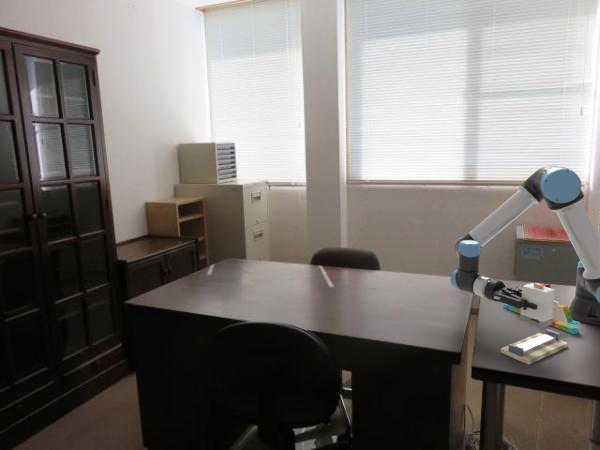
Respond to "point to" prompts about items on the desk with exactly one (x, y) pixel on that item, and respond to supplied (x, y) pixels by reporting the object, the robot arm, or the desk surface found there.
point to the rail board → (536, 350)
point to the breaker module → (542, 296)
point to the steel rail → (534, 343)
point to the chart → (554, 322)
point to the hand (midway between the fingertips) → (553, 308)
